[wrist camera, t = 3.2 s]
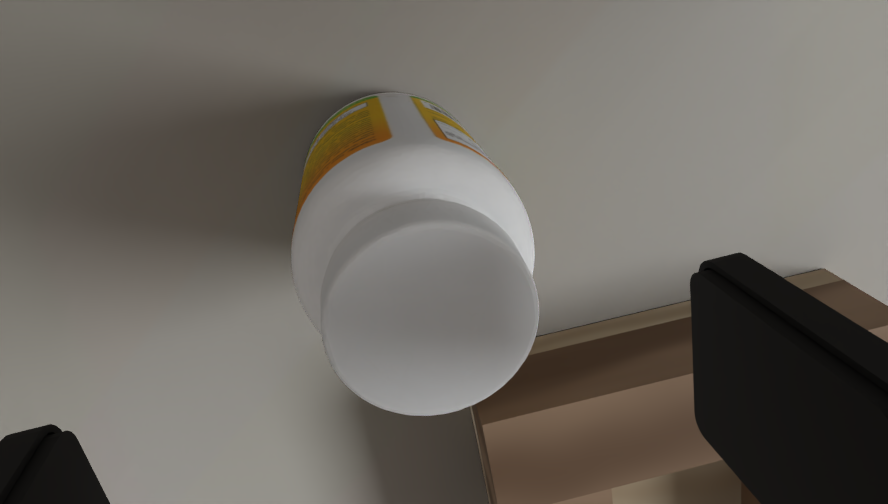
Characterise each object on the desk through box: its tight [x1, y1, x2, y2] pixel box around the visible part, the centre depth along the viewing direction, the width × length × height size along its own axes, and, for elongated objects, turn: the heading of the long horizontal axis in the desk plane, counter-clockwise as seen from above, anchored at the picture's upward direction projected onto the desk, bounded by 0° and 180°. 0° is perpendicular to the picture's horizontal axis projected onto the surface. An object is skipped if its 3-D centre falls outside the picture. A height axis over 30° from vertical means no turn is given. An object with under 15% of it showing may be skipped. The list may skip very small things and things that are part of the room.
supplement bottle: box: [291, 92, 539, 416], centre depth 16 cm, size 5×5×10 cm
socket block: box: [470, 269, 888, 504], centre depth 25 cm, size 14×14×4 cm
